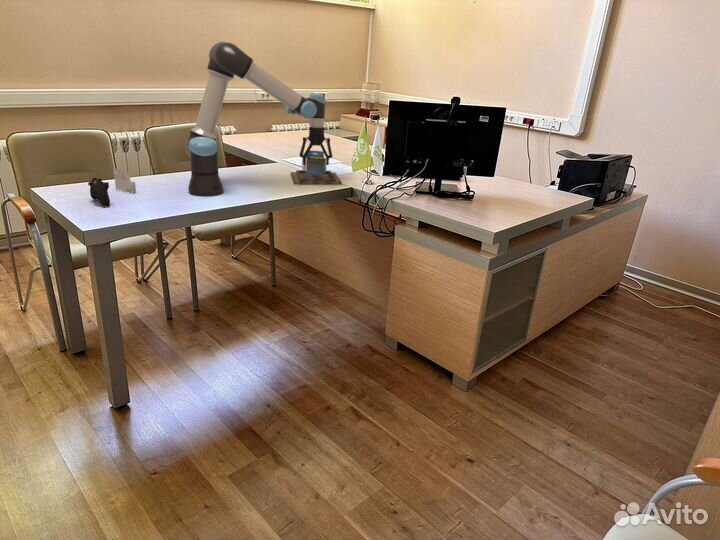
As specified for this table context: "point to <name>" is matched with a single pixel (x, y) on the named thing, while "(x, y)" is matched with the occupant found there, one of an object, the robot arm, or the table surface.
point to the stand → (315, 178)
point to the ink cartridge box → (124, 181)
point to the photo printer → (306, 157)
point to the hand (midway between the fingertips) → (315, 171)
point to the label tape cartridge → (315, 163)
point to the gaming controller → (99, 191)
